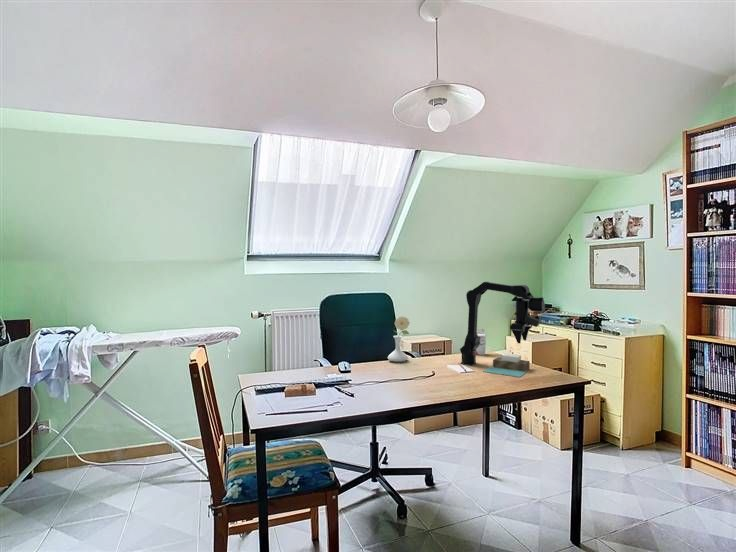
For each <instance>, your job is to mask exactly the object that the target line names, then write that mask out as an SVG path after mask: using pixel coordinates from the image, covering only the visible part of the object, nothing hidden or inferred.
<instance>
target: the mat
mask: <svg viewBox="0 0 736 552" xmlns="http://www.w3.org/2000/svg"><path fill="white" fill-rule="evenodd" d="M482 372H483V373H488V374H495V375H501V376H507V377H508V376H509V377H514V378H515V377H516V378H521V377H522V376H524V375H525V374H526V373H527V371H526V372H525V371H518V370H510V369H503V368H496V367H493V366H490V367H487V368H486V369H484V370H483V371H482Z"/></svg>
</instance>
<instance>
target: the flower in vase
mask: <svg viewBox="0 0 736 552" xmlns="http://www.w3.org/2000/svg"><path fill="white" fill-rule="evenodd" d="M394 325H395V328H396V329H398V330H400V333H399V332H398V331H396V330H394V332H395V333H396V334H398V335H396V334H395V335H393V336H392V337H393V338H394V343H395V349H394V350H393V351H392V352H391V353H390V354H389V355H388V356H387V359H388V360H389V361H391V362H396V363H399V362H406V361H407V360H408V359H409V356H408V355H407V354H406V353H405V352H403V351H402V350H401V346H400V345H401V339H402V338H403V336H402V335H401V334H403V335H410V333H409V331H408V330H406V329H408V328H409V326H410V320H409V318H408V317H406V316H399V317H398V318H396V319H395V321H394Z"/></svg>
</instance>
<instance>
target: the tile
mask: <svg viewBox="0 0 736 552" xmlns="http://www.w3.org/2000/svg"><path fill="white" fill-rule="evenodd" d="M501 357H502V360H503V361H511V362H519V361H521V360H522V355H521V354H515V353H503V354H502V355H501Z"/></svg>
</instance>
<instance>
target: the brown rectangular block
mask: <svg viewBox="0 0 736 552" xmlns="http://www.w3.org/2000/svg"><path fill="white" fill-rule="evenodd" d="M492 367H496V368H503V369H510V370H518V371H525V372H527V371H529V370H530V360H526V359H521V361H519V362H511V361H503V360H502V356H501V357H500V356H498V357H496V358H494V359H492Z"/></svg>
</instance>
